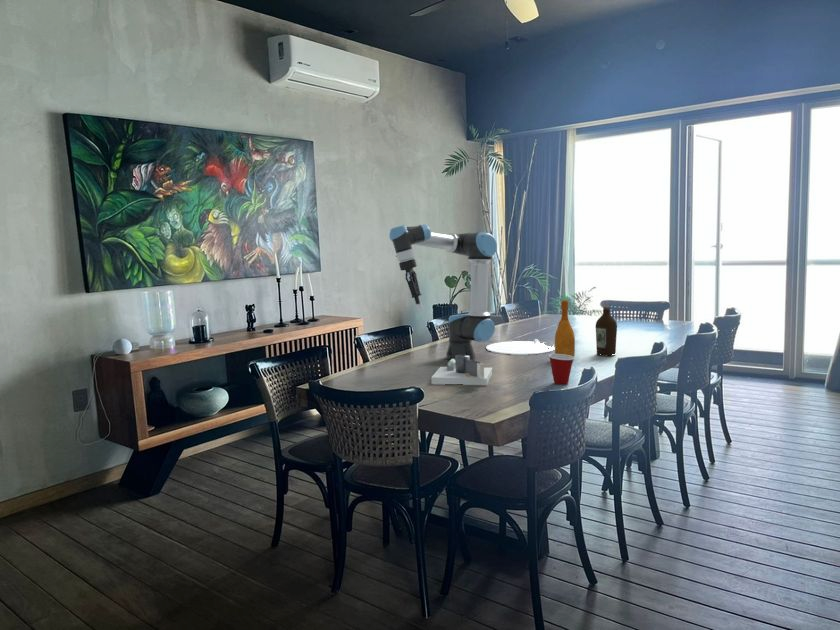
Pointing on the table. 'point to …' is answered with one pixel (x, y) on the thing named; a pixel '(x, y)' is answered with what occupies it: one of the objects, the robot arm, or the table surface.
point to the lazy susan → (520, 347)
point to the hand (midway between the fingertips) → (420, 310)
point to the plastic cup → (561, 367)
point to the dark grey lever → (469, 366)
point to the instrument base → (458, 376)
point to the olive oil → (606, 333)
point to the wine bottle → (564, 334)
